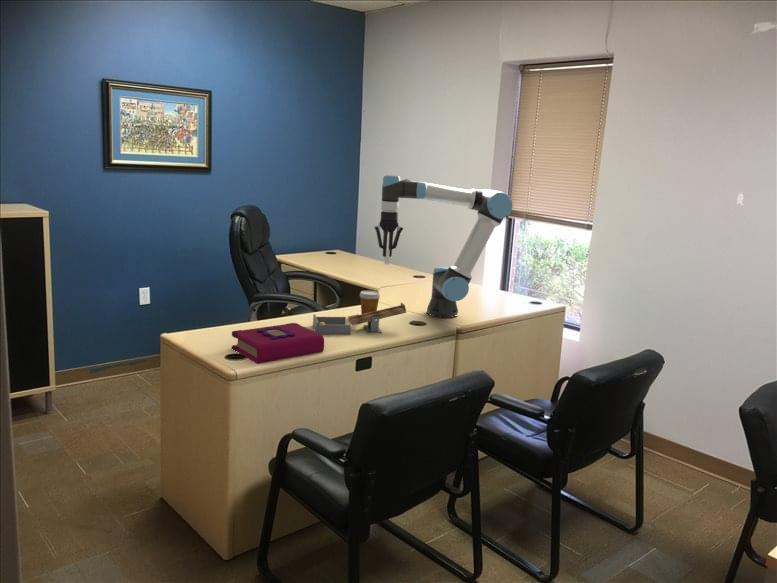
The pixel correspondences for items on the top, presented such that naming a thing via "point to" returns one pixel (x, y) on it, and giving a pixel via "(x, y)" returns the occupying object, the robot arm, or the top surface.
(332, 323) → the tray
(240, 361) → the top surface
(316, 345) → the book
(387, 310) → the lever
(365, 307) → the disposable coffee cup
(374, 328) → the fulcrum
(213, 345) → the top surface
